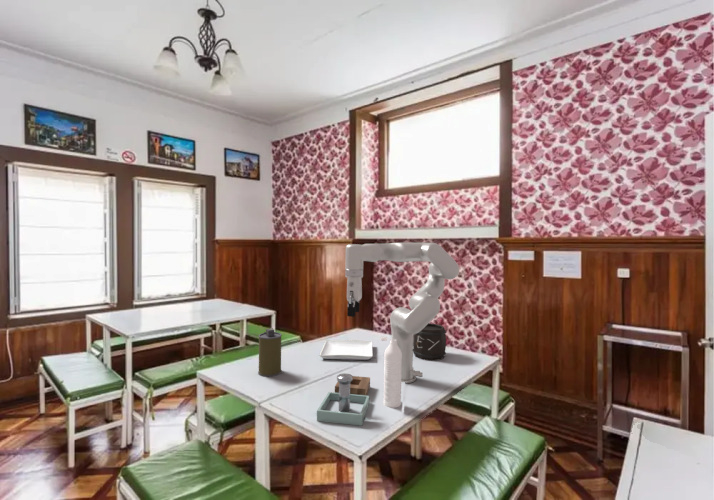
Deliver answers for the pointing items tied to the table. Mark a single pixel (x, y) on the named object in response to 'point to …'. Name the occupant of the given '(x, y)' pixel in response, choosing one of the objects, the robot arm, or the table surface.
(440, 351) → the black cylinder
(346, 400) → the steel pin
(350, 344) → the square plate
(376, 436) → the table surface
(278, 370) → the canister
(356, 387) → the block
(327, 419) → the tray
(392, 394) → the water bottle
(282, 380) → the table surface
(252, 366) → the table surface
